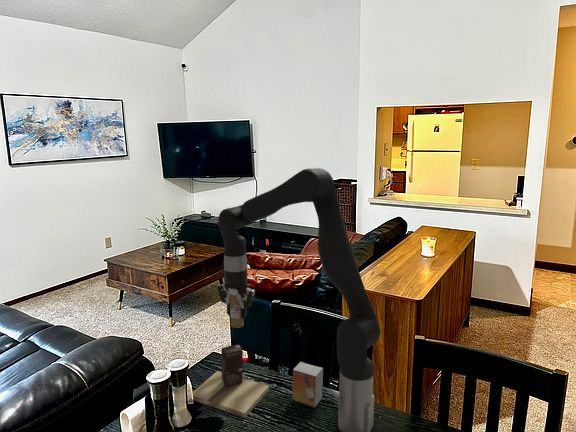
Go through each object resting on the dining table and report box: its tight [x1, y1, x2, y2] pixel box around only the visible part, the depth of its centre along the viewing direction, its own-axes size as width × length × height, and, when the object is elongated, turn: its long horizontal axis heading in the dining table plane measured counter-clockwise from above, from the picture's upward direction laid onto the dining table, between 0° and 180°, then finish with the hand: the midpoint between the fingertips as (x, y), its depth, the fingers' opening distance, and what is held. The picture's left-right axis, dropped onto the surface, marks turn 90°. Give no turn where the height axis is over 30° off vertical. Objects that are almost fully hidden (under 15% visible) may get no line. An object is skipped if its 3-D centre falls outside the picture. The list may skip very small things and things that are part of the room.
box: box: [221, 343, 244, 387], centre depth 136 cm, size 6×4×12 cm
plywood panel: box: [192, 370, 270, 418], centre depth 133 cm, size 20×15×2 cm
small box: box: [291, 361, 324, 408], centre depth 130 cm, size 8×6×10 cm
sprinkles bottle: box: [229, 288, 245, 329], centre depth 140 cm, size 5×5×14 cm
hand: (236, 316), depth 141 cm, fingers closed on sprinkles bottle, 4 cm apart
